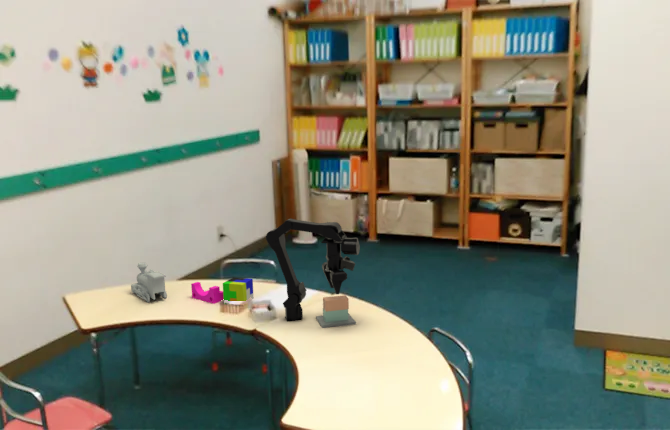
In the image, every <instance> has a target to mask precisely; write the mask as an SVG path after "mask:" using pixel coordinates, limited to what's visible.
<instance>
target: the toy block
mask: <svg viewBox="0 0 670 430" xmlns="http://www.w3.org/2000/svg"><path fill="white" fill-rule="evenodd" d="M190 285H191V287H190V288H191V297H192V299H194V300H199V301H203V302H206V303H210V304H214V305H215V304H218V303H219V302H222V301H221V300H223V299H224V298H223V290H221V289H220V286H218V285H213V286H211V287H209V288H208V289H207V290H204V289H203V287H202V284H201V282H199V281H195V282H193V283H191V284H190ZM223 301H224V300H223Z"/></svg>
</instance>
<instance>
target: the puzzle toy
mask: <svg viewBox="0 0 670 430" xmlns="http://www.w3.org/2000/svg"><path fill="white" fill-rule="evenodd" d="M253 282H254V279H253V278H247V277H234V276H233V277H231V278H229V279H228V280H225V282H223V283H222V291H223V298H224V300H228V301H246V300H248V299H249V298H250V297H251V298H252V300H253V299H254V297H255V296H254V283H253ZM224 300H223V301H224Z"/></svg>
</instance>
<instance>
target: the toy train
mask: <svg viewBox="0 0 670 430" xmlns="http://www.w3.org/2000/svg"><path fill="white" fill-rule="evenodd" d="M136 266H137V268H138V269H139V271H140V273H138V274H137V275H136V283H131V284H130V289H131V293H132V294H134V295H136V296H137V297H139V298H141V299H142V300H145V302H146V303H150V302H151V299H152V300H156V295H155V294H157V295H158V296H161V297H162V298H164V299H167V298H168V293H167V290H166V281H165V280H166V279H165V278H166V277H167V275H166V274H164V273H162V272H160V271H155V270H154V269H152V268H151V269H149V270H148V271H147V270H146V269H147V267H148V264H147V263H146V262H140V263H138V264H137V265H136Z"/></svg>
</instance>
